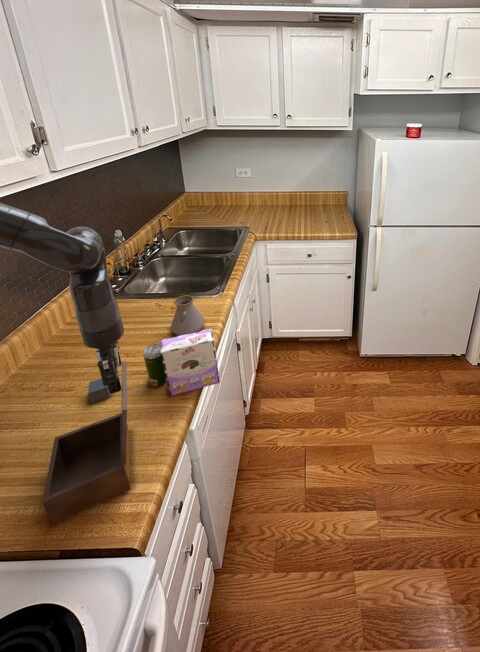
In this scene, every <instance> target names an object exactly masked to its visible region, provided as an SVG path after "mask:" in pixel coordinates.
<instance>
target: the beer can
mask: <svg viewBox="0 0 480 652" xmlns="http://www.w3.org/2000/svg"><path fill="white" fill-rule="evenodd" d="M161 344H162V343H152V344H149V345H147V346H145V348H144V350H143V360H144V364H145V365H144V366H145V368H146V373H147V378H148V381H149V384H150V386H151V387H153V388H154V387H155V388H156V387H162V386H163V385H166V384H167V380H166V375H165V371H164V366H163V361H162V357H161Z"/></svg>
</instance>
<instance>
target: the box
mask: <svg viewBox="0 0 480 652" xmlns="http://www.w3.org/2000/svg"><path fill="white" fill-rule="evenodd" d="M130 433H131V432H130V430H129V425H128V424H127V440H126V465H123V466H122V412H120V413H118V414H115V415H112V416H110V417H106V418H104V419H101V420H99V421H96V422H93V423H90V424H87V425H85V426H82V427H80V428H77V429H74V430H71V431H68V432H66V433H63V434H61V435H57V436H55V437H54V439H53V445H52V449H51V455H50V460H49V466H48V471H47V476H46V480H45V486H44V491H43V496H42V501H41V503H42V505H43V507H44V509H45V511H46V514H47V515H48V517H49V520H50V522H51V524H52V526H54V525H56V524H59V523H60V522H63V521H64V520H67V519H69V518H71V517H74V516H75V515H78V514H80V513H82V512H84V511H86V510H88V509H90V508H93V507H96V506H97V505H99V504H102V503H104V502H106V501H109V500H110V499H112V498H115V497H116V496H119V495H121V494H123V493H125V492H127V491H130V490H131V489H132V475H131V474H132V468H131V434H130Z"/></svg>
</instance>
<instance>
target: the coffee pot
mask: <svg viewBox="0 0 480 652" xmlns="http://www.w3.org/2000/svg"><path fill="white" fill-rule="evenodd" d="M194 300H195V299H194V296H193V295H190V294H186V295H181V296H179V297H176V299H175V300H174V301H173V304H174V305H175V306H176V309H175V312H174V315H173V318H172V321H171V325H170V330H171V331H172V333H173V334H174V335H176V336H181V335H186V334H190V333H195V332H199V331H202V329H203V326H204V325H205V317H204V316H203V315H202V314H201V312H200V311H199V309H198V308H197V306H195V304H194Z"/></svg>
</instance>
